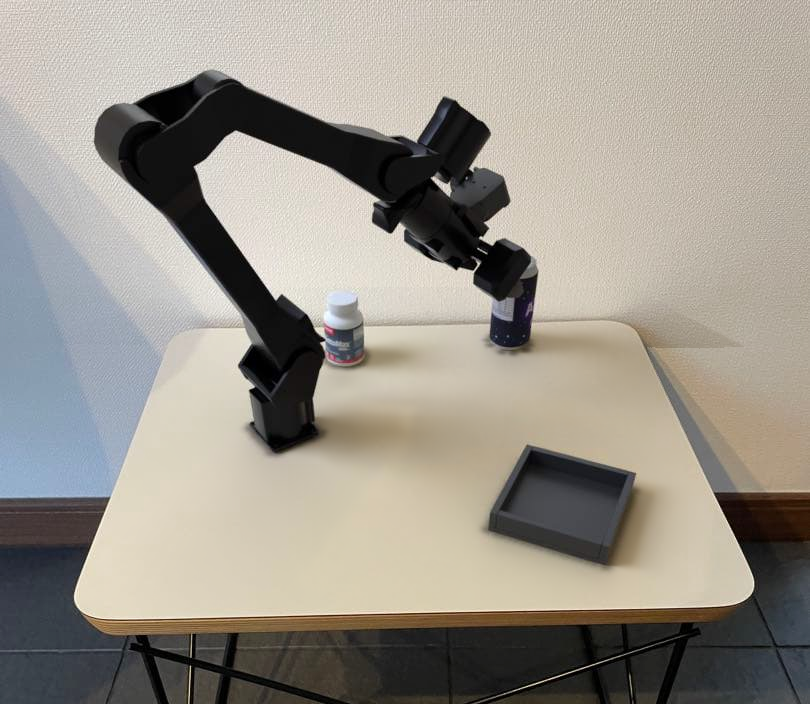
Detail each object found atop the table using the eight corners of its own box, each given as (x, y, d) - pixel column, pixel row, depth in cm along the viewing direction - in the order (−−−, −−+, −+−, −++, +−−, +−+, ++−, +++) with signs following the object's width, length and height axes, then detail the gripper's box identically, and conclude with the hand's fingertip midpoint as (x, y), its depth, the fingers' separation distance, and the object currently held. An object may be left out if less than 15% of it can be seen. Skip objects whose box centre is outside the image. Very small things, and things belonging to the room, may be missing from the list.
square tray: (487, 530, 81) (489, 512, 79) (524, 461, 89) (526, 443, 88) (604, 565, 78) (609, 547, 76) (631, 490, 86) (636, 472, 84)
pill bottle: (319, 361, 105) (313, 301, 98) (339, 343, 108) (335, 284, 102) (352, 371, 103) (349, 310, 97) (371, 353, 106) (369, 293, 100)
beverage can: (527, 355, 106) (537, 272, 97) (486, 350, 107) (493, 268, 98) (530, 334, 110) (541, 253, 101) (491, 330, 111) (498, 249, 102)
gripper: (527, 177, 80) (586, 252, 92) (423, 130, 91) (488, 202, 103) (464, 269, 83) (530, 330, 95) (370, 212, 93) (440, 273, 106)
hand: (497, 280), depth 100 cm, fingers open, 9 cm apart
